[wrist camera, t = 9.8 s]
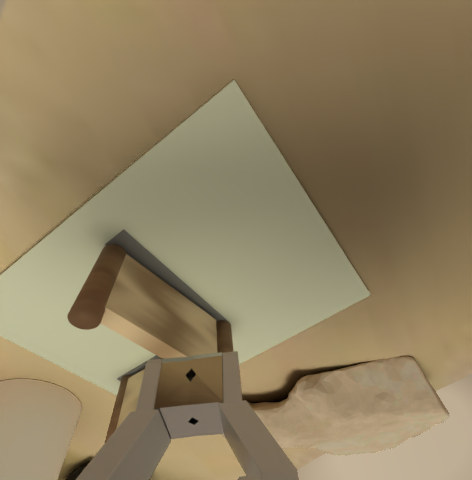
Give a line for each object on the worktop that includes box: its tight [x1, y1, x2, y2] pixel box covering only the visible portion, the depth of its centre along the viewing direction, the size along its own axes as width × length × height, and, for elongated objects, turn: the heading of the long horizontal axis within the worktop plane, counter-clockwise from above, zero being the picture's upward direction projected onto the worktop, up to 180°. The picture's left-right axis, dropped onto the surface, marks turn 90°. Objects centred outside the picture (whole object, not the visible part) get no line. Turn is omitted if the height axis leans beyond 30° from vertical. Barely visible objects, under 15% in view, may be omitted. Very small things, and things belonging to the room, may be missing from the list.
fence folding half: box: [67, 244, 217, 358], centre depth 19 cm, size 10×2×6 cm, turn 40°
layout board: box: [0, 79, 370, 395], centre depth 23 cm, size 26×20×1 cm
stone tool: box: [222, 356, 449, 455], centre depth 33 cm, size 14×6×25 cm
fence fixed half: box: [105, 320, 234, 443], centre depth 24 cm, size 13×2×6 cm, turn 126°
